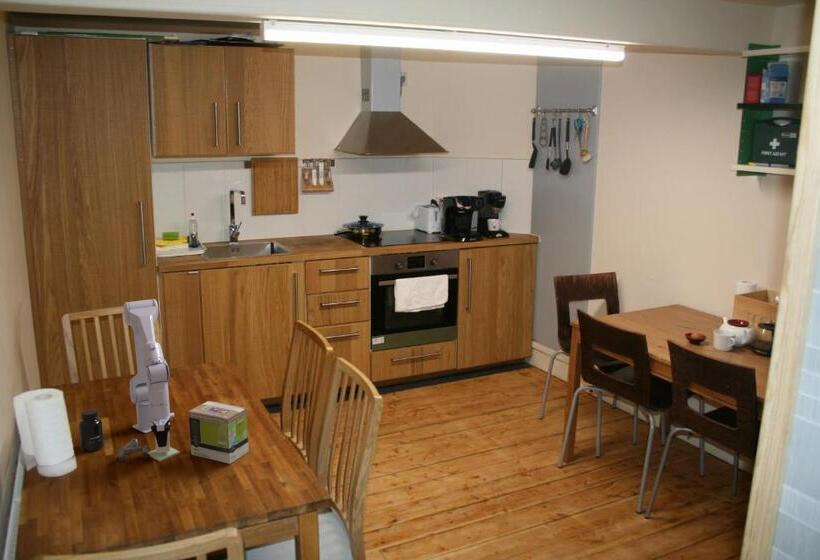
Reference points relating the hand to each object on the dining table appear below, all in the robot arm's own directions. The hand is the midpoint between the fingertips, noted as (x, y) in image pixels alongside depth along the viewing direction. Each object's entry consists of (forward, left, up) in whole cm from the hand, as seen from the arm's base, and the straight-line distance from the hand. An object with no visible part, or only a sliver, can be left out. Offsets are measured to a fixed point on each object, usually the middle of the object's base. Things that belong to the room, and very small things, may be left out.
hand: (162, 443), depth 229 cm
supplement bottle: (+11, -21, -4) cm, 24 cm away
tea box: (-11, +13, -4) cm, 18 cm away
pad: (0, 0, -4) cm, 4 cm away
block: (0, 0, -2) cm, 2 cm away
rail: (+7, -6, -4) cm, 10 cm away
